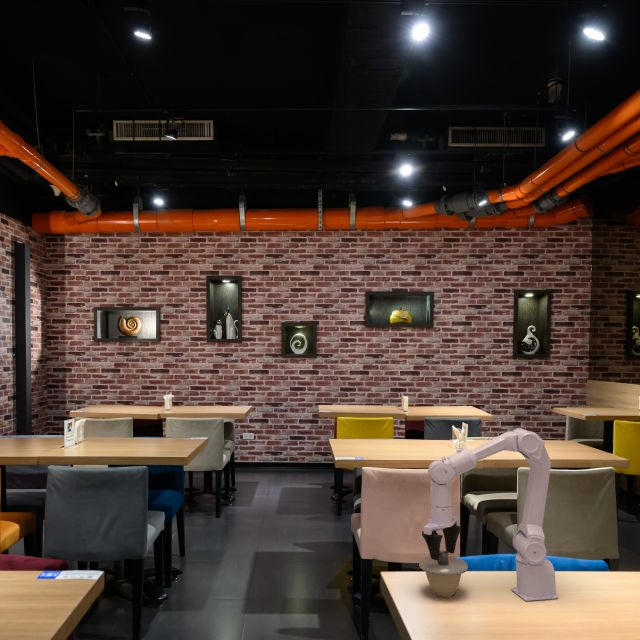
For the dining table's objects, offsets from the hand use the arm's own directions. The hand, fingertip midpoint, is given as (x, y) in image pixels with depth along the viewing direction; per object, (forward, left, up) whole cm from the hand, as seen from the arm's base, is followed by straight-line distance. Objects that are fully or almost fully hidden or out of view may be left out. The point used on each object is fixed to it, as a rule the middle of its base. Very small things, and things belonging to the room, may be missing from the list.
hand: (442, 555), depth 146 cm
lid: (0, 0, -3) cm, 3 cm away
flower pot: (0, 0, -10) cm, 10 cm away
